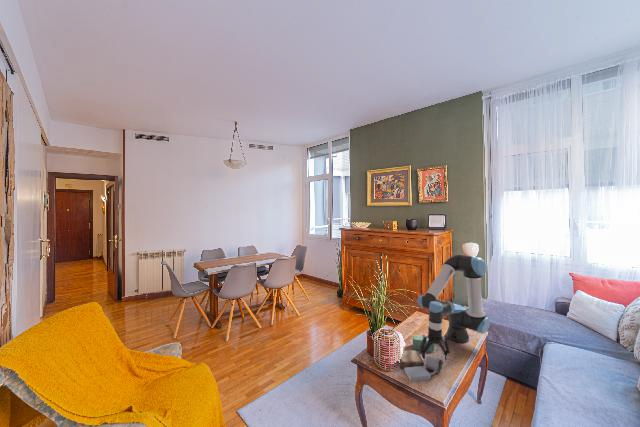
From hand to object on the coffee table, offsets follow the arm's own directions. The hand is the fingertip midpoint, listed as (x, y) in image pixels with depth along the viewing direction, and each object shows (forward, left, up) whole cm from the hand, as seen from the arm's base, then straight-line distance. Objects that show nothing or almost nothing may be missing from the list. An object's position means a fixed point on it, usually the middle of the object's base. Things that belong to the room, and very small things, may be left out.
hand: (433, 363), depth 163 cm
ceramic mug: (+1, +1, -4) cm, 4 cm away
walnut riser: (+13, -8, -4) cm, 15 cm away
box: (-2, -25, -4) cm, 25 cm away
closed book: (+12, +5, -4) cm, 13 cm away
